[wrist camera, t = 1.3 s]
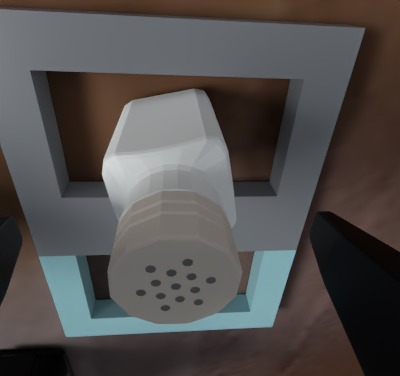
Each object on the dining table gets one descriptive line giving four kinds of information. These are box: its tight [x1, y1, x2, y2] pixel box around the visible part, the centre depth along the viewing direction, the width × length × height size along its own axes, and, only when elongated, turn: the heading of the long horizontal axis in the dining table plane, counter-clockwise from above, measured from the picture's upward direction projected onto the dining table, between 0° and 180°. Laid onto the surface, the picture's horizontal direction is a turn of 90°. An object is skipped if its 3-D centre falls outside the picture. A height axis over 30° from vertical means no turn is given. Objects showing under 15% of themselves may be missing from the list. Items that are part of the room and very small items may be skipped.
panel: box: [0, 6, 366, 337], centre depth 17 cm, size 20×15×2 cm
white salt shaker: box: [102, 89, 242, 324], centre depth 11 cm, size 4×4×10 cm
